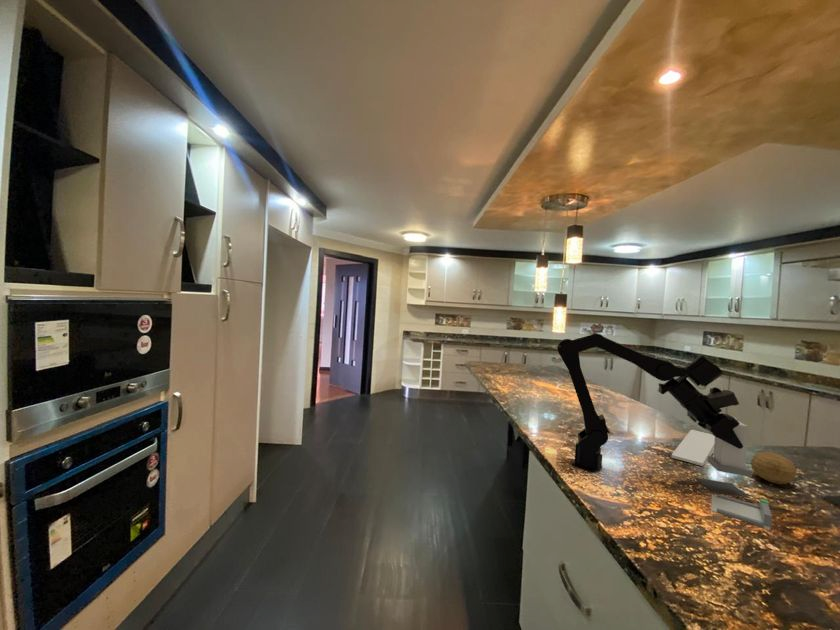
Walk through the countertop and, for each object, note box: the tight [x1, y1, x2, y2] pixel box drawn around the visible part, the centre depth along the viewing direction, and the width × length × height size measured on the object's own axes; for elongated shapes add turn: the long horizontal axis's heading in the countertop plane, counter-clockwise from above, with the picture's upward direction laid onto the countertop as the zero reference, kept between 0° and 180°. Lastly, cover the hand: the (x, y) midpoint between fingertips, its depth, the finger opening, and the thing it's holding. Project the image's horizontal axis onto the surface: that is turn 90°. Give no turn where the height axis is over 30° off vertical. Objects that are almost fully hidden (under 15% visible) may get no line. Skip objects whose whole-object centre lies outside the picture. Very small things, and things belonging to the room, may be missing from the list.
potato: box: [750, 451, 797, 485], centre depth 105 cm, size 10×14×8 cm
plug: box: [707, 414, 753, 478], centre depth 94 cm, size 7×7×14 cm
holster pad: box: [693, 476, 751, 499], centre depth 98 cm, size 9×9×1 cm
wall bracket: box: [671, 429, 715, 467], centre depth 124 cm, size 10×7×28 cm
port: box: [710, 493, 773, 531], centre depth 85 cm, size 10×11×3 cm
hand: (736, 444), depth 94 cm, fingers closed on plug, 5 cm apart
